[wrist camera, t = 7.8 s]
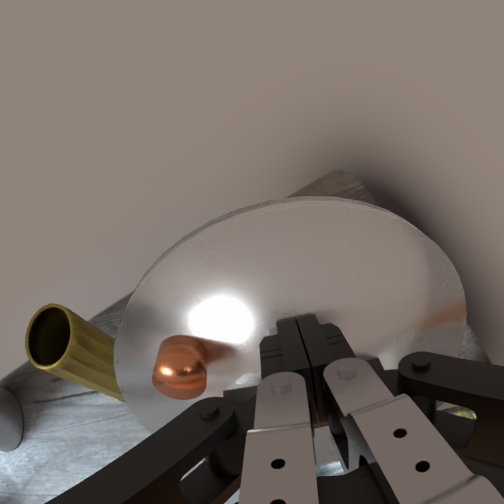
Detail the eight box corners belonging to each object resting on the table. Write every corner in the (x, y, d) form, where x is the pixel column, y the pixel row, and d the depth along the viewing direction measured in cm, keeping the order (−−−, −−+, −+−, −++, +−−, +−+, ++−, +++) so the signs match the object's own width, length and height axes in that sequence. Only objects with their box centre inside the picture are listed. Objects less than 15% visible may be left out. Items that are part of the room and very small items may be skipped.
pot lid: (188, 467, 18) (186, 500, 16) (60, 249, 11) (26, 284, 9) (426, 417, 18) (441, 446, 15) (468, 168, 11) (512, 186, 8)
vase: (134, 339, 34) (57, 282, 22) (167, 377, 31) (91, 336, 19) (99, 374, 32) (12, 333, 20) (130, 414, 29) (40, 392, 17)
